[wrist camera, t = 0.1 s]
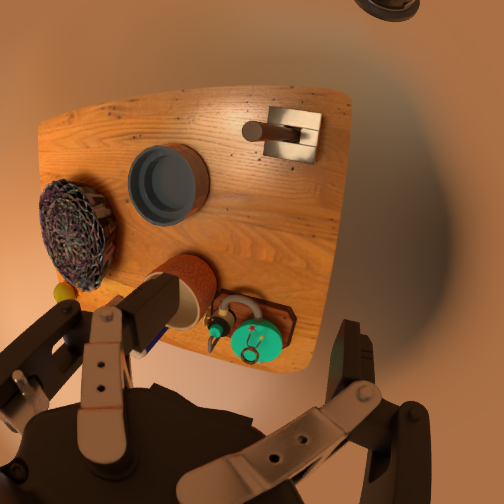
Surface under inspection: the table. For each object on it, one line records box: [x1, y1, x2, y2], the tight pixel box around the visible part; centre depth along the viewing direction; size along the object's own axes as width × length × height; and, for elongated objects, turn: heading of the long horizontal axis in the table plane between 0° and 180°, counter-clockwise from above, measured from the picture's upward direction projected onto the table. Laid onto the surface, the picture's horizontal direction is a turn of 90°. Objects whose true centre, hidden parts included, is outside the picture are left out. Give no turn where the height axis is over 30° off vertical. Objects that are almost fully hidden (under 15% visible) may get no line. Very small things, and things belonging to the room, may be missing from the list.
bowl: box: [128, 144, 209, 227], centre depth 49 cm, size 14×14×6 cm
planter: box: [143, 254, 217, 330], centre depth 54 cm, size 12×12×11 cm
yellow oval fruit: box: [54, 282, 75, 303], centre depth 71 cm, size 7×7×10 cm
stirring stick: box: [242, 121, 301, 142], centre depth 31 cm, size 2×2×26 cm
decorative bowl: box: [39, 179, 118, 293], centre depth 59 cm, size 26×28×10 cm
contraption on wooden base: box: [203, 289, 297, 364], centre depth 52 cm, size 14×18×15 cm
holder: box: [263, 106, 323, 164], centre depth 40 cm, size 7×7×6 cm
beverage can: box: [130, 326, 169, 359], centre depth 58 cm, size 5×5×15 cm
